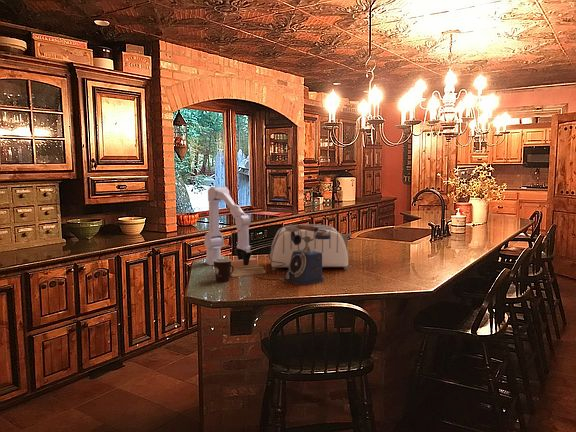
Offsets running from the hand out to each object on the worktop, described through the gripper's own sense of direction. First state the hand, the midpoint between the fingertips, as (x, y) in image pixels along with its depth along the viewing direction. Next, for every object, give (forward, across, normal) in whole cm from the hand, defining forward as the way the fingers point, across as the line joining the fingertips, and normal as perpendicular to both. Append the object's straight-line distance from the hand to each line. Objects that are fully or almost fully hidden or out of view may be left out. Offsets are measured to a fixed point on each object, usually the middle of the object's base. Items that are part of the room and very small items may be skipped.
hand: (243, 263), depth 249 cm
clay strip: (+3, 0, 0) cm, 3 cm away
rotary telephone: (+5, -24, -17) cm, 30 cm away
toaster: (+4, -4, -38) cm, 38 cm away
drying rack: (+4, 0, 0) cm, 4 cm away
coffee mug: (+4, -15, +16) cm, 22 cm away
